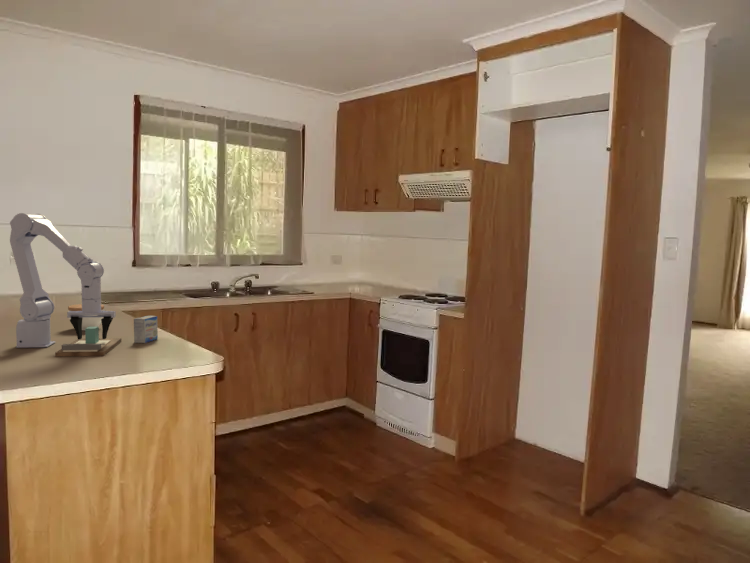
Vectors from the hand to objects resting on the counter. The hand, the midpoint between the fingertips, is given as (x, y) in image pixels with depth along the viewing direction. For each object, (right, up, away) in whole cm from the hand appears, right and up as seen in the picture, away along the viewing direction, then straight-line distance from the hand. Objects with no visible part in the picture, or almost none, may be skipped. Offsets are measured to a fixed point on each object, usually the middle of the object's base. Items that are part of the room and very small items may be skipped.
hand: (92, 338), depth 188 cm
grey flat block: (+1, -2, -8) cm, 8 cm away
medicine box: (+13, -2, +13) cm, 18 cm away
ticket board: (0, -3, -2) cm, 4 cm away
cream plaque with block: (0, -2, 0) cm, 2 cm away
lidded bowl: (-18, 0, +32) cm, 37 cm away
